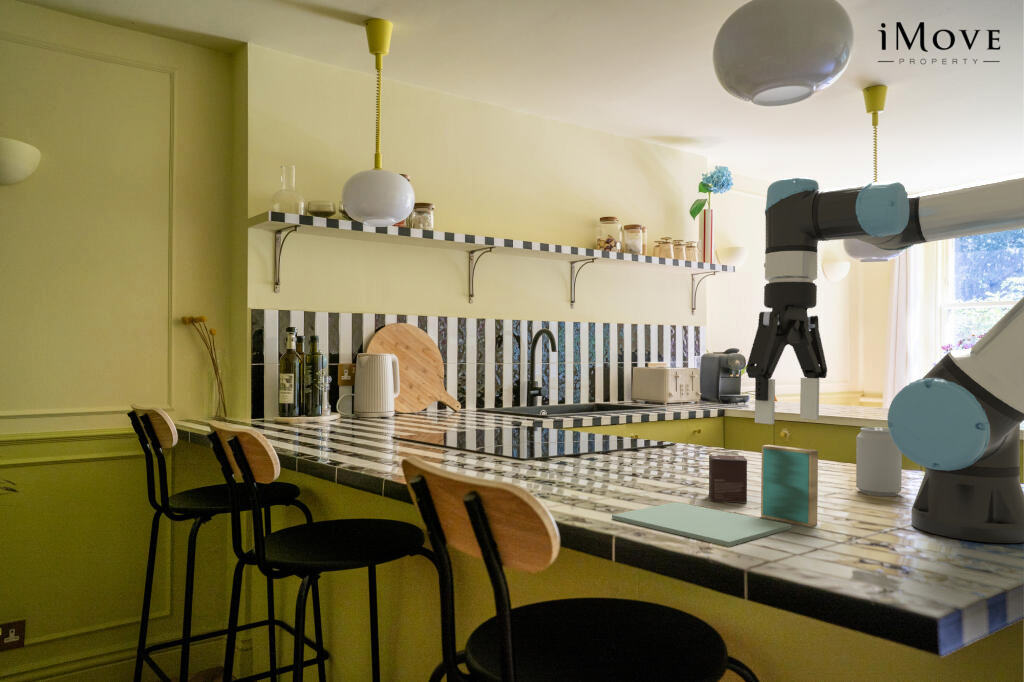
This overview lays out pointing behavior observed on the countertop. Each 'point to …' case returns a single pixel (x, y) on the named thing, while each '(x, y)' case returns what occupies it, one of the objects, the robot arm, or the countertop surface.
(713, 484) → the box
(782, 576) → the countertop surface
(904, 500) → the countertop surface
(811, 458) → the tile
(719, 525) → the mat
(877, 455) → the can
